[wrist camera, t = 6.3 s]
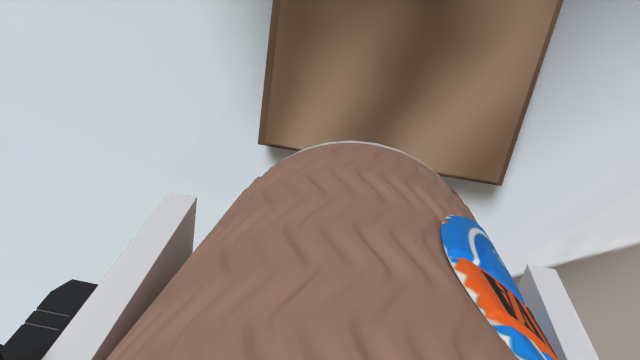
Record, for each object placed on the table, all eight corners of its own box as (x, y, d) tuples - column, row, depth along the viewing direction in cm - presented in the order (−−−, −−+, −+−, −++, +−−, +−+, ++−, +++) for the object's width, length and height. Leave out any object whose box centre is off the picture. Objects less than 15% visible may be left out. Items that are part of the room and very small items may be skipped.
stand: (264, 130, 33) (255, 149, 31) (288, -88, 28) (279, -88, 25) (493, 169, 33) (504, 192, 31) (561, -43, 28) (582, -38, 25)
